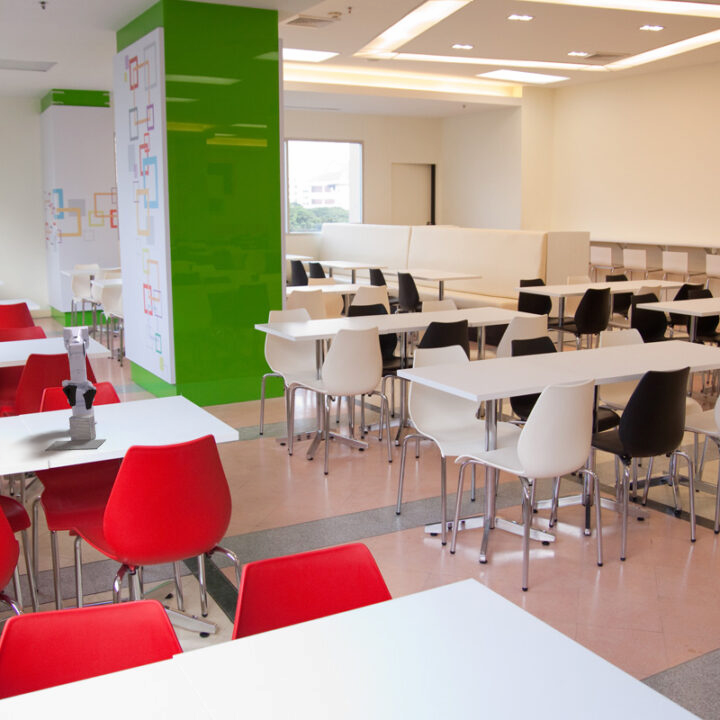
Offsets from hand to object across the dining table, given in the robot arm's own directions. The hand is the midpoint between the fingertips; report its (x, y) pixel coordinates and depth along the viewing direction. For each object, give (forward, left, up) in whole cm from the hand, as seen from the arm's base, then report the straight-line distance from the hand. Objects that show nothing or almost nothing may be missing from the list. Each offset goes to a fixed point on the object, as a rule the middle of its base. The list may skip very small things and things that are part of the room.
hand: (81, 407), depth 307 cm
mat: (+12, +1, -11) cm, 16 cm away
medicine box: (+3, +1, -11) cm, 12 cm away
